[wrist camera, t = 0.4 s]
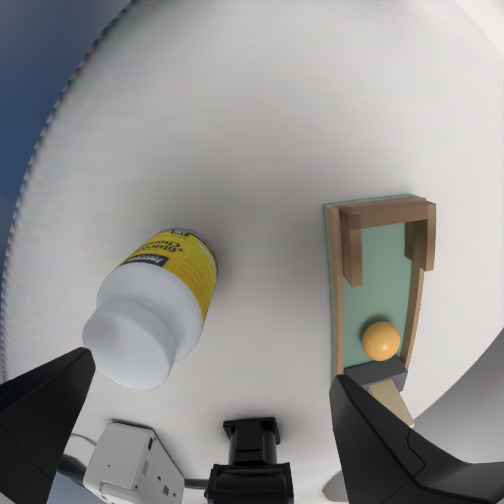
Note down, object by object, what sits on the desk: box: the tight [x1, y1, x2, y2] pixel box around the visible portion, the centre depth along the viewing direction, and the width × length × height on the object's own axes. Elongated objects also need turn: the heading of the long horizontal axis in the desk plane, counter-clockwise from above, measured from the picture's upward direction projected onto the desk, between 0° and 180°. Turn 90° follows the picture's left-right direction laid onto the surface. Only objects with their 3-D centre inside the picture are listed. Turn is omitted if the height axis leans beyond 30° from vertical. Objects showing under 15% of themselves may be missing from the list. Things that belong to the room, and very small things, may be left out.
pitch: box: [323, 194, 426, 383], centre depth 22 cm, size 20×8×2 cm, turn 10°
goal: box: [334, 196, 436, 288], centre depth 18 cm, size 5×7×4 cm
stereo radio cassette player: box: [83, 423, 184, 504], centre depth 24 cm, size 21×8×20 cm, turn 4°
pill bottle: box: [82, 229, 218, 390], centre depth 16 cm, size 6×6×12 cm
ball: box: [362, 321, 400, 361], centre depth 21 cm, size 4×4×4 cm
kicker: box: [344, 355, 414, 428], centre depth 20 cm, size 3×6×9 cm, turn 100°
